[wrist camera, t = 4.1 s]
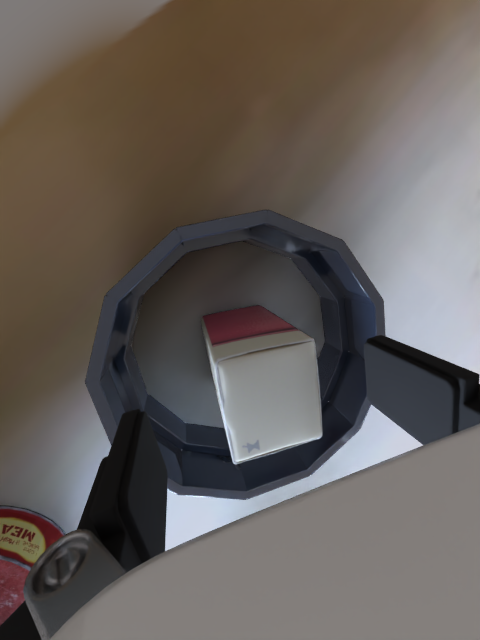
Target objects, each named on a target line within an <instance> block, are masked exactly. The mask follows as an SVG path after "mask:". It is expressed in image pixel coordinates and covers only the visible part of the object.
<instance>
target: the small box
mask: <svg viewBox="0 0 480 640" xmlns="http://www.w3.org/2000/svg"><path fill="white" fill-rule="evenodd" d="M201 324H202V330H203V335H204V340H205V345H206V350H207V355H208V360H209V364H210V369H211V373H212V378H213V382H214V386H215V390H216V394H217V398H218V402H219V406H220V410H221V414H222V418H223V423H224V427H225V431H226V435H227V439H228V443H229V448H230V452H231V457H232V461H233V463H234V464H239V463H242V462H245V461H248V460H252V459H256V458H259V457H262V456H266V455H269V454H273V453H276V452H279V451H282V450H285V449H289V448H292V447H295V446H298V445H301V444H304V443H307V442H310V441H313V440H316V439H319V438H321V437H322V414H321V398H320V385H319V375H318V365H317V355H316V347H315V340H314V339H313V338H311V337H310V336H308V335H306V334H305V333H303V332H302V331H300V330H298V329H297V328H295V327H294V326H292V325H291V324H289V323H287V322H286V321H284V320H283V319H281V318H280V317H278V316H276V315H275V314H273V313H272V312H270V311H269V310H267V309H265V308H264V307H262V306H260V305H256V306H250V307H244V308H239V309H233V310H228V311H223V312H219V313H214V314H209V315H205V316H202V317H201Z"/></svg>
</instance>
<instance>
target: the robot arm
mask: <svg viewBox="0 0 480 640" xmlns="http://www.w3.org/2000/svg"><path fill="white" fill-rule="evenodd" d="M364 359H365V373H366V388H367V398H368V400H369V402H370V403H371V404H372V405H373V406H374V407H375V408H377V409H378V410H379V411H381V412H382V413H383V414H384V415H386V416H387V417H388V418H390V419H391V420H392V421H393V422H395V423H396V424H397V425H399V426H400V427H401V428H402V429H404V430H405V431H406V432H407V433H409V434H410V435H411V436H413V437H414V438H415V439H416V440H418V441H419V442H420V443H422V444H423V445H424V446H421V447H418V448H416V449H413V450H411V451H408V452H406V453H403V454H400V455H398V456H395V457H393V458H390V459H388V460H385V461H383V462H380V463H378V464H375V465H373V466H370V467H368V468H365V469H363V470H360V471H358V472H355V473H353V474H350V475H348V476H345V477H343V478H340V479H338V480H335V481H333V482H330V483H328V484H325V485H323V486H320V487H318V488H315V489H313V490H310V491H308V492H305V493H303V494H300V495H298V496H295V497H293V498H290V499H288V500H286V501H283V502H281V503H278V504H276V505H273V506H271V507H268V508H266V509H263V510H261V511H258V512H256V513H254V514H251V515H249V516H246V517H244V518H241V519H239V520H236V521H234V522H232V523H229V524H227V525H224V526H222V527H220V528H217V529H215V530H212V531H210V532H208V533H205V534H203V535H201V536H198V537H196V538H194V539H192V540H189V541H187V542H185V543H183V544H180V545H178V546H176V547H174V548H172V549H170V550H167V551H165V532H166V506H167V479H168V475H167V468H166V465H165V462H164V459H163V457H162V454H161V451H160V448H159V446H158V443H157V440H156V437H155V435H154V432H153V429H152V426H151V424H150V421H149V418H148V415H147V413H146V411H143V412H141V411H140V409H136V410H133V411H129V412H126V413H123V414H122V416H121V419H120V422H119V425H118V428H117V431H116V434H115V437H114V440H113V443H112V446H111V449H110V452H109V455H108V457H105V458H104V459H103V460H102V461H101V464H100V466H99V469H98V472H97V475H96V478H95V480H94V483H93V486H92V489H91V492H90V494H89V497H88V500H87V503H86V506H85V508H84V511H83V514H82V517H81V520H80V523H79V525H78V528H77V530H75V531H72V532H70V533H68V534H66V535H64V536H62V537H60V538H59V539H58V540H57V541H55V542H54V543H53V544H51V545H50V546H49V547H48V548H47V549H46V550H45V551H44V552H43V553H42V554H41V555H40V557H39V558H38V559H37V561H36V562H35V563H34V565H33V566H32V568H31V570H30V572H29V573H28V575H27V577H26V580H25V584H24V588H23V593H24V599H25V601H24V602H23V603H22V604H21V605H20V606H19V607H18V608H17V609H16V610H15V611H14V612H13V613H12V614H11V615H10V616H9V617H8V618H7V619H6V620H5V622H4V623H3V624H2V625H1V626H0V640H480V384H479V374H477V373H474V372H472V371H469V370H467V369H465V368H462V367H460V366H457V365H455V364H452V363H450V362H447V361H445V360H442V359H440V358H437V357H435V356H432V355H430V354H427V353H425V352H423V351H420V350H418V349H415V348H413V347H410V346H408V345H405V344H403V343H400V342H398V341H395V340H393V339H390V338H388V337H385V336H383V335H378V336H375V337H372V338H368V339H367V341H366V343H365V344H364Z"/></svg>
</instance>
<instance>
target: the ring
mask: <svg viewBox="0 0 480 640" xmlns="http://www.w3.org/2000/svg"><path fill="white" fill-rule="evenodd" d="M239 241H243V242H246V243H249V244H252V245H255V246H257V247H260V248H263V249H266V250H268V251H271V252H274V253H277V254H279V255H282V256H285V257H288V258H291V260H292V261H293V262H294V263H295V265H296V266H297V267H298V269H299V270H300V271H301V272H302V274H303V275H304V276H305V278H306V279H307V280H308V281H309V283H310V284H311V285H312V287H313V288H314V289H315V290H316V292H317V293H318V294H319V296H320V301H321V310H322V318H323V326H324V334H325V344H324V346H323V349H322V352H321V354H320V357H319V359H318V362H317V365H318V375H319V385H320V398H321V414H322V437H321V438H319V439H316V440H313V441H310V442H307V443H304V444H301V445H298V446H295V447H292V448H289V449H285V450H282V451H279V452H276V453H273V454H269V455H266V456H262V457H259V458H256V459H252V460H248V461H245V462H242V463H239V464H234V463H233V461H232V457H231V452H230V448H229V443H228V439H227V435H226V431H225V429H224V428H217V427H210V426H203V425H196V424H189V423H185V422H183V421H182V420H181V419H180V418H178V417H177V416H176V415H175V414H173V413H172V412H171V411H169V410H168V409H167V408H166V407H164V406H163V405H162V404H160V403H159V402H158V401H157V400H155V399H154V398H153V397H151V396H150V395H149V394H148V393H147V390H146V387H145V384H144V381H143V378H142V376H141V373H140V370H139V367H138V364H137V361H136V358H135V355H134V353H133V350H132V347H131V344H132V340H133V336H134V332H135V329H136V325H137V321H138V317H139V313H140V309H141V305H142V301H143V297H144V293H145V292H146V291H147V290H149V289H150V288H151V287H152V286H153V285H154V284H155V283H156V282H157V281H158V280H159V279H160V278H161V277H162V276H163V275H164V274H165V273H166V272H167V271H169V270H170V269H171V268H172V267H173V266H174V265H175V264H176V263H177V262H178V261H179V260H180V259H181V258H182V257H183V256H184V255H185V254H186V253H188V252H192V251H197V250H202V249H206V248H211V247H216V246H220V245H225V244H230V243H234V242H239ZM378 335H383V336H385V317H384V301H383V299H382V297H381V296H380V294H379V293H378V291H377V290H376V288H375V287H374V285H373V284H372V282H371V281H370V279H369V278H368V276H367V275H366V273H365V272H364V270H363V269H362V267H361V266H360V264H359V263H358V261H357V260H356V258H355V257H354V255H353V254H352V252H351V251H350V249H349V248H348V246H347V245H346V243H345V242H344V241H343V240H342V239H339V238H337V237H334V236H332V235H329V234H327V233H325V232H322V231H320V230H317V229H315V228H312V227H310V226H307V225H305V224H302V223H300V222H298V221H295V220H293V219H290V218H288V217H285V216H283V215H280V214H278V213H276V212H273V211H271V210H261V211H256V212H251V213H246V214H240V215H235V216H230V217H225V218H220V219H215V220H210V221H205V222H200V223H195V224H190V225H185V226H180V227H177V228H176V229H173V230H172V231H171V232H170V233H169V234H168V235H167V236H166V237H165V238H164V239H163V240H162V241H161V242H160V243H159V244H158V245H156V246H155V247H154V248H153V249H152V250H151V251H150V252H149V253H148V254H147V255H146V256H145V257H144V258H143V259H142V260H141V261H140V262H139V263H138V264H137V265H135V266H134V267H133V268H132V269H131V270H130V271H129V272H128V273H127V274H126V275H125V276H124V277H123V278H122V279H121V280H120V281H119V282H118V283H117V284H115V285H114V286H113V287H112V288H111V289H110V290H109V291H108V292H107V293H106V295H105V296H104V300H103V305H102V309H101V313H100V318H99V322H98V327H97V331H96V335H95V340H94V344H93V349H92V353H91V357H90V362H89V366H88V371H87V375H86V379H85V382H86V383H85V384H86V386H87V389H88V391H89V393H90V396H91V398H92V401H93V403H94V405H95V408H96V410H97V412H98V415H99V417H100V420H101V422H102V424H103V427H104V429H105V431H106V434H107V436H108V439H109V441H110V443H111V446H112V443H113V440H114V437H115V434H116V431H117V428H118V425H119V422H120V419H121V416H122V414H123V413H126V412H129V411H133V410H136V409H140V411H141V412H143V411H146V413H147V415H148V418H149V421H150V424H151V426H152V429H153V432H154V435H155V437H156V440H157V443H158V446H159V448H160V451H161V454H162V457H163V459H164V462H165V465H166V468H167V475H168V479H167V489H168V490H170V491H171V492H173V493H174V494H176V495H184V496H199V497H213V498H227V499H242V500H246V499H250V498H253V497H255V496H258V495H261V494H263V493H266V492H269V491H271V490H274V489H277V488H279V487H282V486H285V485H287V484H290V483H293V482H295V481H298V480H301V479H303V478H306V477H309V476H310V475H312V474H313V473H314V472H315V471H316V470H317V469H318V468H320V467H321V466H322V465H323V464H324V463H325V462H326V461H327V460H328V459H329V458H330V457H331V456H332V455H333V454H334V453H336V452H337V451H338V450H339V449H340V448H341V447H342V446H343V445H344V444H345V443H346V442H347V441H348V440H349V439H351V438H352V437H353V436H354V435H355V434H356V433H357V432H358V431H359V429H361V426H362V424H363V422H364V420H365V417H366V415H367V413H368V410H369V408H370V406H371V403H370V402H369V400H368V398H367V388H366V373H365V359H364V344H365V343H366V341H367V339H368V338H372V337H375V336H378ZM328 401H329V402H328Z"/></svg>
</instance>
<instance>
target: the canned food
mask: <svg viewBox="0 0 480 640" xmlns="http://www.w3.org/2000/svg"><path fill="white" fill-rule="evenodd" d="M64 535H65V533H64V532H63V531H62V529H61V528H60V527H59V526H57V525H56V524H55V523H54V522H53V521H51V520H50V519H48V518H46V517H44V516H42V515H40V514H38V513H35V512H32V511H29V510H26V509H22V508H16V507H9V506H0V626H1V625H2V624H3V623H4V622H5V620H6V619H7V618H8V617H9V616H10V615H11V614H12V613H13V612H14V611H15V610H16V609H17V608H18V607H19V606H20V605H21V604H22V603H23V602H24V601H25V599H24V593H23V588H24V584H25V580H26V577H27V575H28V573H29V572H30V570H31V568H32V566H33V565H34V563H35V562H36V561H37V559H38V558H39V557H40V555H41V554H42V553H43V552H44V551H45V550H46V549H47V548H48V547H49V546H50V545H51V544H53V543H54V542H55V541H57V540H58V539H59V538H60V537H62V536H64Z"/></svg>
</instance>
